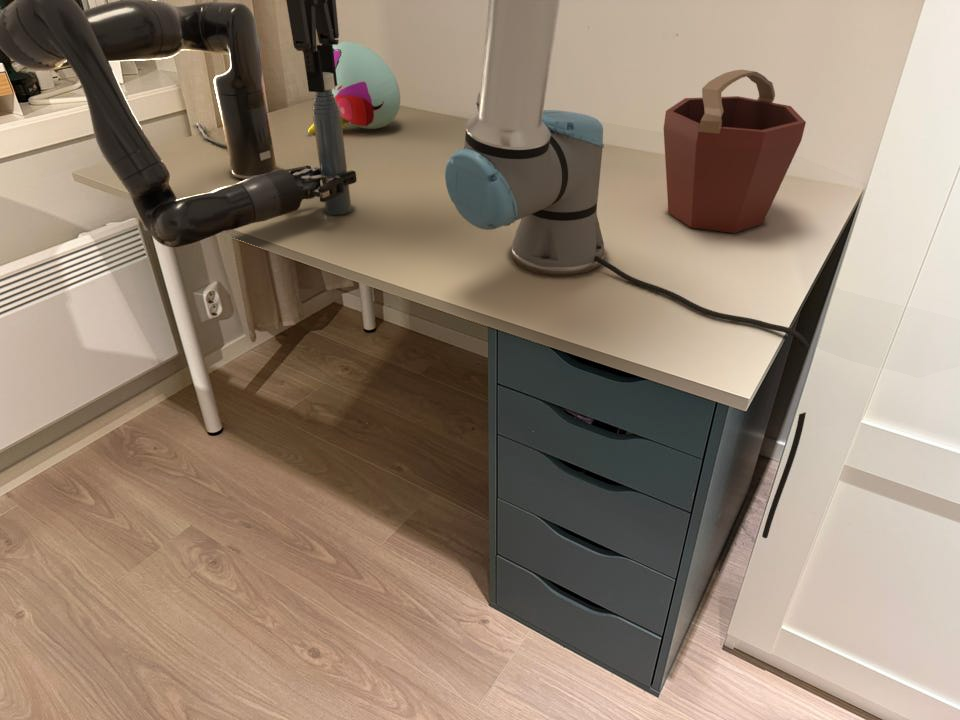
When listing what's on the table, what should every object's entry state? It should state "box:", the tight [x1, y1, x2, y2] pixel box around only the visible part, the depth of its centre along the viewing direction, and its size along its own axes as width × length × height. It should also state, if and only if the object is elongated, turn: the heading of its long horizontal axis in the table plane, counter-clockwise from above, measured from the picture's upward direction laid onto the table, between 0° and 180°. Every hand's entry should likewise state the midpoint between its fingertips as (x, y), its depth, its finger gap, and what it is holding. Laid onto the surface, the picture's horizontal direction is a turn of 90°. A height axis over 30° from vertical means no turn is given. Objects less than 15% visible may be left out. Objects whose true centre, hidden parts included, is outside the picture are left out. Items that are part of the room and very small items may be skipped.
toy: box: [307, 41, 401, 134], centre depth 176 cm, size 24×24×20 cm
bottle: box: [311, 89, 352, 216], centre depth 128 cm, size 5×5×24 cm
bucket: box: [663, 69, 807, 234], centre depth 125 cm, size 24×22×25 cm
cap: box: [323, 72, 335, 90], centre depth 122 cm, size 4×4×2 cm
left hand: (345, 172), depth 133 cm, fingers closed on bottle, 5 cm apart
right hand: (323, 88), depth 122 cm, fingers closed on cap, 4 cm apart
